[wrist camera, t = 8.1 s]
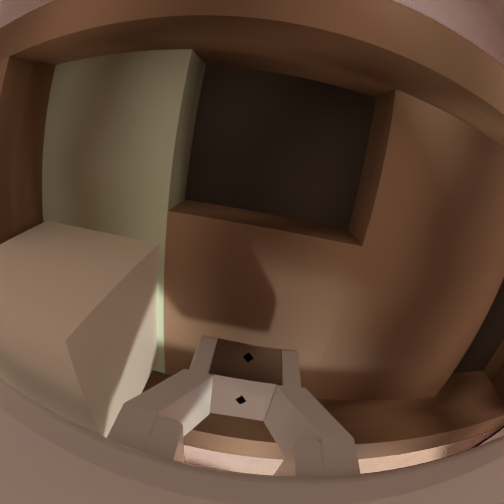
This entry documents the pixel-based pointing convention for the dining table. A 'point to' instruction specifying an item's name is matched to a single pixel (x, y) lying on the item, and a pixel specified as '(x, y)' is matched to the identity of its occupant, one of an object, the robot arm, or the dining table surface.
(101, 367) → the block
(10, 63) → the box
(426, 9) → the dining table surface
